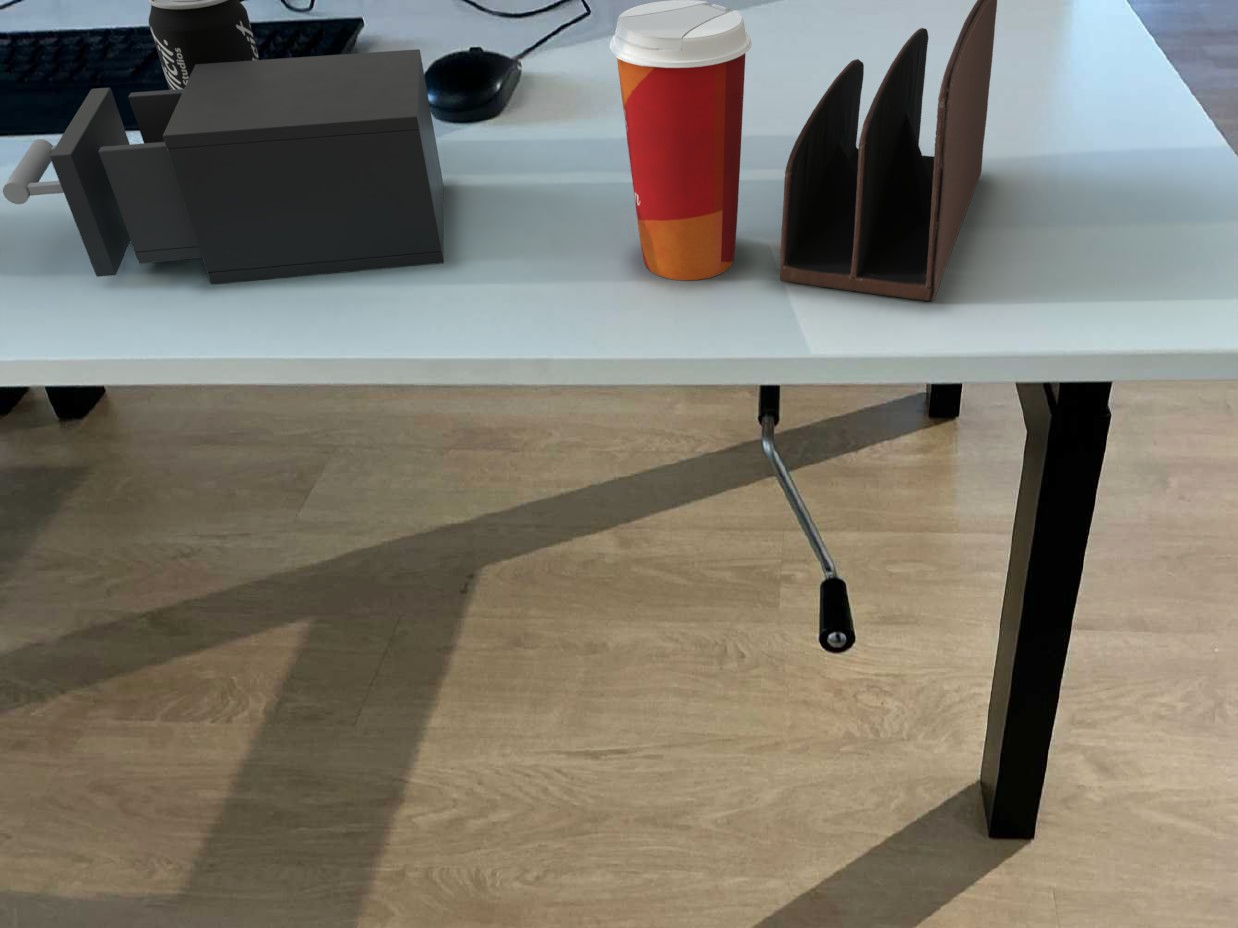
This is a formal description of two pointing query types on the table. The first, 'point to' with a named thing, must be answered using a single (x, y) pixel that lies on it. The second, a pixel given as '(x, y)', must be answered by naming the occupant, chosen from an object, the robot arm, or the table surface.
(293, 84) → the cabinet
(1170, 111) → the table surface
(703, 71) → the coffee cup
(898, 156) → the letter holder
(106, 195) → the drawer
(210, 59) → the beverage can
